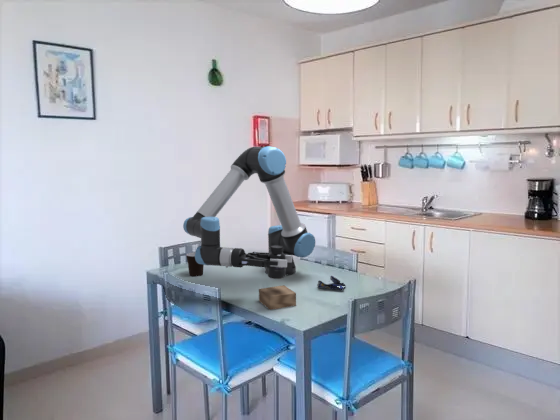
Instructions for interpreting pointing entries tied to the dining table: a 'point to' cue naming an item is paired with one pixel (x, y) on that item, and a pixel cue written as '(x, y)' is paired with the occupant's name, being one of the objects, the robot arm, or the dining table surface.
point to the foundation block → (277, 297)
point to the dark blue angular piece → (331, 286)
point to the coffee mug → (194, 265)
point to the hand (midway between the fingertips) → (289, 261)
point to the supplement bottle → (274, 271)
